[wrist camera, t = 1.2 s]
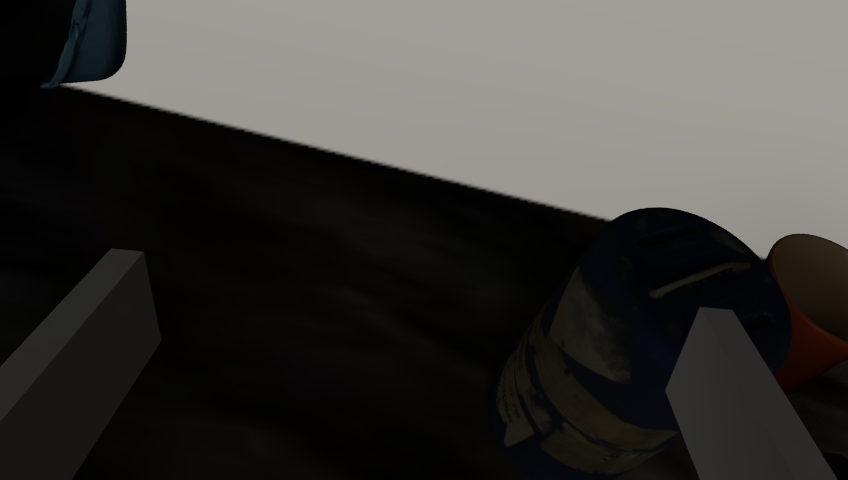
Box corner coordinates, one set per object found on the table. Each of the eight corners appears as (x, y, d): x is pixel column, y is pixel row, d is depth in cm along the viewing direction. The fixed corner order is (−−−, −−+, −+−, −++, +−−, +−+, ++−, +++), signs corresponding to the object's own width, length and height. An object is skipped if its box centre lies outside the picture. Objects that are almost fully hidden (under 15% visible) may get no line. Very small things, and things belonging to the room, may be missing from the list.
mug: (725, 429, 41) (835, 363, 33) (661, 321, 46) (744, 240, 38) (844, 395, 45) (967, 328, 37) (774, 298, 50) (870, 222, 42)
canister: (468, 360, 40) (577, 177, 26) (592, 352, 43) (751, 182, 29) (503, 509, 35) (664, 378, 21) (643, 490, 37) (870, 361, 23)
